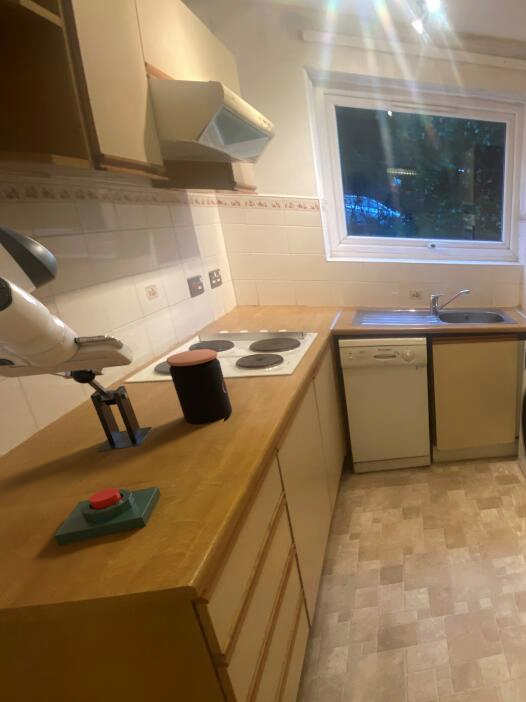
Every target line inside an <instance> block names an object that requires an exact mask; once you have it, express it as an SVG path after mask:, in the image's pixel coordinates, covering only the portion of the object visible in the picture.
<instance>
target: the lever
mask: <svg viewBox="0 0 526 702" xmlns="http://www.w3.org/2000/svg"><path fill="white" fill-rule="evenodd" d="M92 370H93V369H88V370H79V371H73V372H72V379H73V381H74V382H76V383H79V384H83V385H85V384H88V385H89V386H90V387H91V388H92V389H94V391H97V392H99V393H100V394H101V395H102V396H101V401H102V402H104V403H105V404H106V405H107V406H108V405H110V406H115V405H116V406H117V403H116V401H115V398H114V396H113V392H114V391H115V390H114V389H111V390H108V389H106V387H104V386H103V385H102V384H101V383H100V382H98V381H97V380H96V377H97V376H95V375H94V374H93V373H92Z"/></svg>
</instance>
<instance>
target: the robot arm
mask: <svg viewBox="0 0 526 702" xmlns="http://www.w3.org/2000/svg"><path fill="white" fill-rule="evenodd" d="M57 275H58V261H57V258H56V257H55V256H54V255H53V253H51V252H50V251H49V250H48V249H47V247H45V246H43V244H41V243H39V242H38V241H36V240H35V239H33V238H30V237H28V236H26V235H24V234H22V233H20V232H18V231H16V230H13V229H12V228H10V227H7V226H5V225H3V224H0V377H3V378H11V379H12V378H13V379H14V378H20V377H21V378H22V377H31V376H39V375H52V376H56V377H62V378H63V379H65V380H71V379H73V378H72V372H73V371H79V370H88V369H93V370H92V373H93V374H94V375H95V376H96V377H98V376H105V375H106V369H107V368H114V367H124V366H129V365H131V364H132V363H133V360H134V351H133V349H132V348H131V347H130V346H129V345H128V344H127V343H125V342H124V341H122V340H121V339H119V338H118V337H115V336H113V335H109V334H100V335H98V334H97V335H87V336H78V334H77V333H76V332H75V331H74V330H73V329H72V328H71V327H69V325H67V324H66V323H65V322H64V321H63V320H61V318H59V317H58V316H56V315H54V314H52V313H51V312H50V310H49V309H48V308H47V307H46V306H45V304H44V303H42V302H41V301H40V300H39V299H37V298H36V297H35V296H34V295H32V294H31V293H32V292H34V291H35V290H39V289H41V288H42V287H44V286H46V285H48V284H50V283H52V282H53V281H55V280H56V279H57Z"/></svg>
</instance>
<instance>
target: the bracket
mask: <svg viewBox="0 0 526 702" xmlns="http://www.w3.org/2000/svg"><path fill="white" fill-rule="evenodd" d="M101 396H102V395H101V394H100V393H99V392H97V391H96V390H94V392H93V393H92V394H90V396H89V397H90V399H91V402H92V404H93V407H94V410H95V411H96V414H97V417H98V419H99V422H100V424H101V427H102V429H103V432H104V434H105V436H106V440H105V441H104V443H103V444H102V445H101V446H100V447H99V449H97V451H96V453H103V452H108V451H109V452H110V451H115V450H120V449H126V448H127V449H128V448H131V447H138V446H141V445H142V444H143V442H144V440H145V439H146V437H147V436H148V434H149V433H150V431H151V430H152V429H153V426H147V427H140V424H139V422H138V419H137V416H136V413H135V410H134V408H133V405H132V402H131V400H130V397H129V394H128V390H127V388H126V386H125V385H120V386H118V387H117V388H116V389H115V390H114V392H113V396H114V398H115V401H116V403H117V404H116V406H117V409H118V411H119V414H120V416H121V419H122V422H123V424H124V427H125V429H126V430H120V428H119V425H118V422H117V420H116V418H115V415H114V413H113V410H112V407H111V405H108V406H107V405H106V404H105V403H104V402H102V401H101Z"/></svg>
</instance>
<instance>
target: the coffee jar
mask: <svg viewBox="0 0 526 702" xmlns="http://www.w3.org/2000/svg"><path fill="white" fill-rule="evenodd" d="M217 357H218V352H217V350H215V349H208V348H207V349H204V348H203V349H192V350H187V351H181V352H178V353H175V354H172V355H170V356H169V357H167V358H166V363H167V364H168V365H169V366H170V367H169V374H170V377H171V380H172V382H173V386H174V390H175V393H176V396H177V399H178V402H179V405H180V408H181V411H182V415H183V419H184V421H185V422H186V423H187V424H190V425H205V424H211V423H214V422H218V421H220V420H223V422H225V421H227V420H229V418H230V417H231V415H232V413H233V407H232V403H231V399H230V397H229V392H228V389H227V384H226V380H225V378H224V373H223V370H222V366H221V362H220V360H219V359H217Z"/></svg>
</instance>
